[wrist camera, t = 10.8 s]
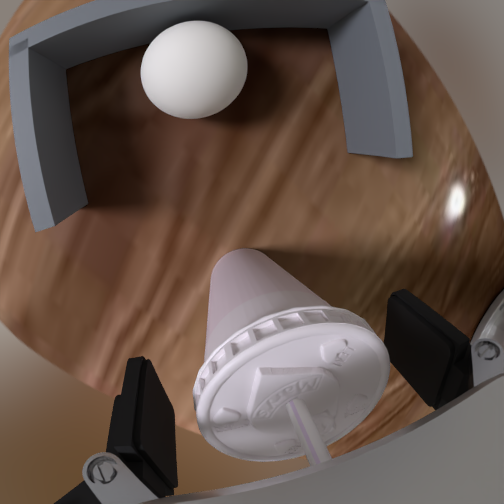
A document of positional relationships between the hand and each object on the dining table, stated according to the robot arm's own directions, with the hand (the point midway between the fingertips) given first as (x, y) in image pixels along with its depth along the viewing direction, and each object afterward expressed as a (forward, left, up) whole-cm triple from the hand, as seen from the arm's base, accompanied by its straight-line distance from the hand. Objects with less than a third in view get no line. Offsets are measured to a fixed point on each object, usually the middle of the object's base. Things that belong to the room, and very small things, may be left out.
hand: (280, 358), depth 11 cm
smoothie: (0, 0, -7) cm, 7 cm away
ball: (+1, -11, -5) cm, 12 cm away
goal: (0, -11, -7) cm, 13 cm away
